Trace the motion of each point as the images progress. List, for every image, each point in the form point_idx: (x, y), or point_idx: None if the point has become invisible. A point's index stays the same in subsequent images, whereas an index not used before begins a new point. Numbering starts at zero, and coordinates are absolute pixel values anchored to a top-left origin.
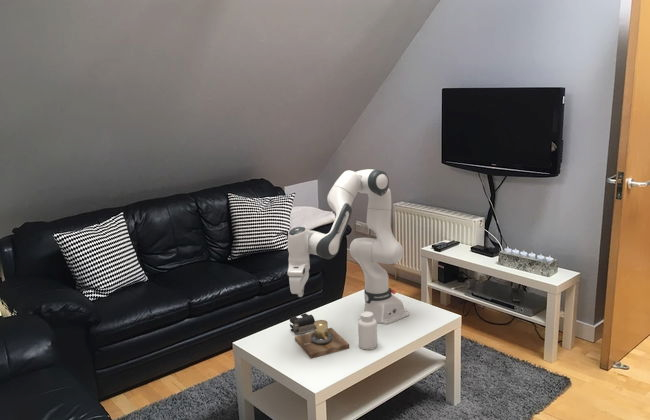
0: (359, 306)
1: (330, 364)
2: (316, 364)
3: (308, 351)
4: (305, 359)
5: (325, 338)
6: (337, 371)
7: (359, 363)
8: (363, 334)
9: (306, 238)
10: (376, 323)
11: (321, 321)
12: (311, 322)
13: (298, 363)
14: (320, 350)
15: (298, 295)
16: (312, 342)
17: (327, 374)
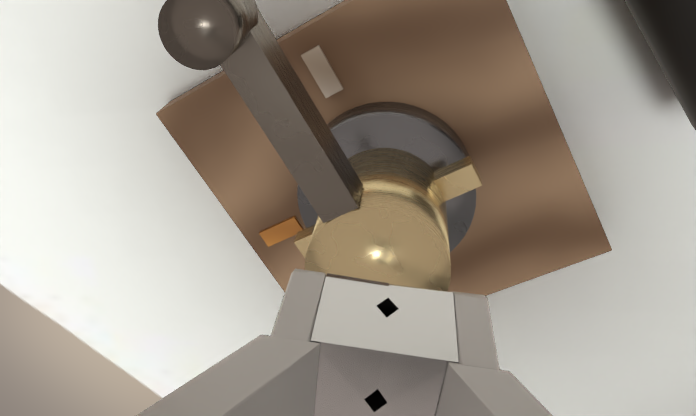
0: None
1: (119, 227)
2: (100, 143)
3: (195, 92)
4: (152, 60)
5: (299, 244)
6: (51, 264)
7: (160, 367)
8: None
9: None
10: None
11: (409, 279)
12: (687, 102)
13: (84, 10)
14: (222, 181)
15: (288, 288)
16: (338, 117)
17: (2, 212)
